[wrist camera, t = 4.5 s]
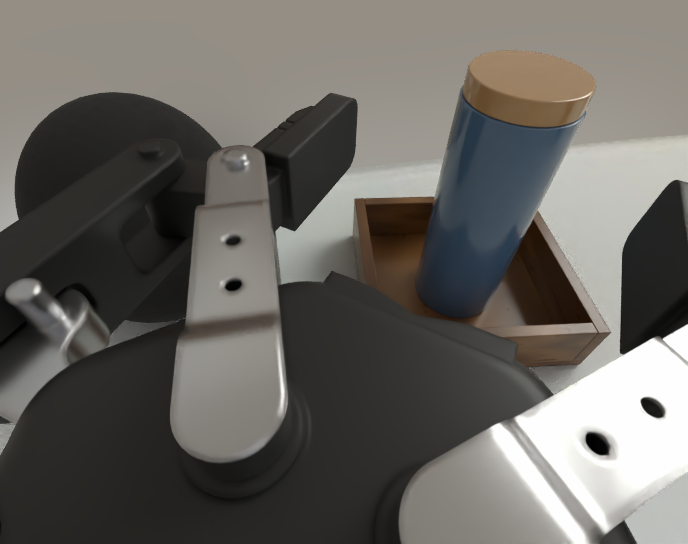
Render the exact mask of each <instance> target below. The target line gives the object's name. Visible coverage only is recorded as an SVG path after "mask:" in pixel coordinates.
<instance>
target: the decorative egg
mask: <svg viewBox="0 0 688 544" xmlns="http://www.w3.org/2000/svg"><path fill="white" fill-rule="evenodd" d="M149 138H167V139H171V140H173V141H175V142H176V143H178V145H179V146H180V150H181V153H182V156H183V159H191V160H203V161H208V159H209V157H210V156H211V155H212V154H213V153H214V152H216V151H218V150H220V149H222V147H221V146H220V145H219V144H218V143H217V141H216V140H215V139H214V138H213V137H212V136H211V135H210V134H209V133H208V132H207V131H206V130H205V129H204V128H203V127H202V126H200V125H199V124H198V123H197V122H196V121H194V120H193V119H191V118H190V117H189V116H187V115H186V114H184V113H183V112H181V111H179V110H177V109H176V108H174V107H172V106H170V105H167V104H165V103H163V102H161V101H158V100H155V99H152V98H148V97H145V96H140V95H136V94H130V93H117V92H110V93H98V94H93V95H88V96H84V97H80V98H78V99H76V100H73V101H71V102H68V103H66V104H64V105H62V106H61V107H59V108H58V109H56V110H54V111H53V112H51V113H50V114H49V115H48V116H47V117H46V118H45V119H44V120H43V121H42V122H41V123H40V124H39V125H38V126H37V127H36V128H35V130H34V131H33V132H32V133H31V135H30V137H29V139H28V140H27V142H26V144H25V146H24V148H23V150H22V152H21V155H20V159H19V162H18V166H17V170H16V176H15V202H16V208H17V215H18V218H19V219H21V218H22V217H24V216H25V215H27V214H28V213H30V212H31V211H33V210H34V209H36V208H37V207H39V206H40V205H42V204H43V203H45V202H46V201H48V200H49V199H51V198H52V197H54V196H55V195H57V194H58V193H60V192H61V191H63V190H64V189H65V188H67V187H68V186H70V185H71V184H73V183H74V182H76V181H77V180H79V179H80V178H82V177H83V176H85V175H86V174H88V173H89V172H91V171H92V170H94V169H95V168H97V167H98V166H100V165H101V164H103V163H104V162H106V161H107V160H109V159H110V158H112V157H113V156H115V155H116V154H118V153H119V152H121V151H122V150H124V149H125V148H127V147H128V146H130V145H131V144H133V143H135V142H138V141H141V140H144V139H149ZM150 221H151V220H150V217H149V215H148V213H147V211H146V209H145V206H144V207H142V208H141V209H140V210H139V211H138V212H136V213H135V214H134V215H133V216H132V217H130V218H129V219H128V220H127V221H126V222H125V223H124V225H123V227H122V229H121V240H122V242H123V244H125V243H126V242H127V241H128V240H129V239H130V238H132V237H133V236H134V235H135V234H136V233H137V232H138V231H140V230H141V229H142V228H143V227H144V226H145V225H147V224H148V223H149V222H150ZM191 255H192V251H191V252H190V253H189V254H188V255H187V256H186V257H185V258H184V259H183V260H182V261H181V262H180V263H179V264H178V265H177V266H176V267H175V268H174V269H173V270H172V271H171V272H170V273H169V274H168V275H167V276H166V278H165V279H164V280H163V281H162V282H161V283H160V284H159V285H158V286H157V287H156V288H155V289H154V290H153V291H152V292H151V293H150V294H149V295H148V296H147V297H146V298H145V299H144V300H143V301H142V302H141V303H140V305H139V306H138V307H137V308H136V309H135V310H134V311H133V312H132V313H131V314H130V315H129V316H128V317H127V318H126V319H125V320H128V321H134V322H146V323H156V322H167V321H172V320H177V319H181V318H184V317H186V313H187V301H188V290H189V278H190V267H191Z"/></svg>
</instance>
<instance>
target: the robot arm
mask: <svg viewBox="0 0 688 544" xmlns="http://www.w3.org/2000/svg"><path fill="white" fill-rule="evenodd" d="M357 108H358V107H357V101H356V99H354V98H350V97H346V96H342V95H338V94H333V93H330V94H328V95H327V96H326V97H325V98H323V99H322V100H321V101H320V102H319V103H317V104H316V105H315V106H310V107H307V108H304V109H301V110H299V111H296V112H295V113H294V114H293V115H291V116H290V117H289V118H287V119H286V122H283V123H281V124H280V125H279V126H278V128H275V129H274V130H273V131H272V132H270V133H269V134H268V135H267V136H266V137H264V138H263V139H262V140H260V141H259V142H258V143H257V144H255V145H254V146H253V147H250V146H244V145H236V146H229V147H225V148H222V149H220V150H218V151H216V152H214V153H213V154H212V155H211V156H210V157H209V159H208V161H203V160H191V159H183V156H182V153H181V150H180V146H179V145H178V143H176V142H175V141H173V140H171V139H167V138H149V139H144V140H141V141H138V142H135V143H133V144H131V145H130V146H128V147H127V148H125V149H124V150H122V151H121V152H119V153H118V154H116V155H115V156H113V157H112V158H110V159H109V160H107V161H106V162H104V163H103V164H101V165H100V166H98V167H97V168H95V169H94V170H92V171H91V172H89V173H88V174H86V175H85V176H83V177H82V178H80V179H79V180H77V181H76V182H74V183H73V184H71V185H70V186H68V187H67V188H65V189H64V190H63V191H61V192H60V193H58V194H57V195H55V196H54V197H52V198H51V199H49V200H48V201H46V202H45V203H43V204H42V205H40V206H39V207H37V208H36V209H34V210H33V211H31V212H30V213H28V214H27V215H25V216H24V217H22V218H21V219H19V220H18V221H16V222H15V223H13V224H12V225H10V226H9V227H7V228H6V229H4V230H3V231H2V232H0V424H6V423H14V424H16V426H15V428H14V430H13V432H12V434H11V436H10V438H9V440H8V442H7V444H6V446H5V448H4V450H3V452H2V453H1V455H0V544H637V543H636V541H635V539H634V537H633V535H632V533H631V532H630V530H629V528H628V526H627V524H626V522H625V521H624V519H626V518H627V517H628V516H630V515H631V514H632V513H633V512H635V511H636V510H637V509H639V508H640V507H641V506H643V505H644V504H645V503H646V502H648V501H649V500H650V499H652V498H653V497H654V496H656V495H657V494H658V493H659V492H661V491H662V490H663V489H665V488H666V487H667V486H669V485H670V484H671V483H672V482H674V481H675V480H676V479H678V478H679V477H680V476H682V475H683V474H684V473H685V472H687V471H688V183H687V182H683V181H679V180H674V181H672V182H671V183H670V184H669V185H668V186H667V187H666V188H665V189H664V190H663V191H662V193H661V194H660V195H659V197H658V198H657V199H656V200H655V202H654V203H653V204H652V206H651V207H650V208H649V209H648V211H647V212H646V213H645V214H644V216H643V217H642V218H641V220H640V221H639V222H638V223H637V225H636V226H635V227H634V229H633V230H632V231H631V233H630V234H629V236H628V238H627V240H626V242H625V245H624V248H623V252H622V287H621V330H620V353H621V354H623V356H621V357H619V358H618V359H616V360H614V361H612V362H611V363H609V364H607V365H605V366H604V367H602V368H600V369H599V370H597V371H595V372H593V373H592V374H590V375H588V376H586V377H585V378H583V379H581V380H579V381H578V382H576V383H574V384H572V385H571V386H569V387H567V388H565V389H564V390H562V391H560V392H558V393H557V394H555V395H553V393H552V392H551V391H550V390H549V389H548V387H547V386H546V385H545V384H544V383H543V382H542V381H541V380H540V379H539V378H538V377H537V376H536V375H535V374H534V373H533V372H531V371H530V370H529V369H528V368H526V367H525V366H524V365H523V364H521V363H520V362H518V361H517V360H515V358H516V353H517V349H518V343H515V342H513V341H510V340H508V339H505V338H502V337H500V336H497V335H495V334H492V333H490V332H487V331H485V330H482V329H479V328H477V327H474V326H472V325H469V324H465V323H460V322H454V321H448V320H443V319H437V318H431V317H425V316H420V315H416V314H413V313H411V312H410V311H408V310H407V309H405V308H404V307H402V306H401V305H399V304H398V303H396V302H395V301H393V300H392V299H390V298H389V297H387V296H386V295H384V294H383V293H381V292H380V291H378V290H377V289H375V288H374V287H372V286H369V285H367V284H364V283H362V282H359V281H357V280H354V279H352V278H349V277H346V276H344V275H341V274H339V273H336V272H334V271H331V273H330V274H329V275H328V277H327V278H326V280H325V281H324V283H322V282H310V281H305V282H293V283H286V284H282V285H281V276H280V267H279V259H278V250H277V241H276V234H275V231H276V230H277V229H278V228H279V227H280V226H282V227H284V228H287V229H290V230H292V231H296V230H297V228H298V227H299V226H300V225H301V224H302V223H303V221H304V220H305V219H306V218H307V217H308V216H309V214H310V213H311V212H312V211H313V210H314V209H315V207H316V206H317V205H318V204H319V203H320V202H321V200H322V199H323V198H324V197H325V196H326V195H327V193H328V192H329V191H330V190H331V189H332V188H333V186H334V185H335V184H336V183H337V182H338V181H339V179H340V178H341V177H342V176H343V175H344V174H345V172H346V171H347V170H348V169H349V167H350V166H351V163H352V161H353V158H354V154H355V147H356V128H357ZM144 206H145V209H146V211H147V213H148V215H149V217H150V220H151V221H150V222H149V223H148V224H147V225H145V226H144V227H143V228H142V229H141V230H140V231H138V232H137V233H136V234H135V235H134V236H133V237H132V238H130V239H129V240H128V241H127V242H126V243H125V244H123V242H122V240H121V229H122V227H123V225H124V223H125V222H126V221H127V220H128V219H129V218H130V217H132V216H133V215H134V214H135V213H136V212H138V211H139V210H140V209H141V208H142V207H144ZM191 251H192V255H191V267H190V278H189V290H188V301H187V313H186V319H185V320H182V321H179V322H177V323H174V324H171V325H168V326H166V327H163V328H160V329H158V330H155V331H152V332H149V333H147V334H144V335H141V336H138V337H136V338H133V339H130V340H128V341H125V342H122V343H119V344H117V345H114V346H111V347H109V348H106V347H107V345H108V342H109V339H110V335H111V334H112V333H113V332H114V330H115V329H116V328H117V327H118V326H119V325H120V324H121V323H122V322H123V321H124V320H125V319H126V318H127V317H128V316H129V315H130V314H131V313H132V312H133V311H134V310H135V309H136V308H137V307H138V306H139V305H140V303H141V302H142V301H143V300H144V299H145V298H146V297H147V296H148V295H149V294H150V293H151V292H152V291H153V290H154V289H155V288H156V287H157V286H158V285H159V284H160V283H161V282H162V281H163V280H164V279H165V278H166V276H167V275H168V274H169V273H170V272H171V271H172V270H173V269H174V268H175V267H176V266H177V265H178V264H179V263H180V262H181V261H182V260H183V259H184V258H185V257H186V256H187V255H188V254H189V253H190V252H191Z"/></svg>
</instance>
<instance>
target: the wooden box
mask: <svg viewBox="0 0 688 544" xmlns="http://www.w3.org/2000/svg"><path fill="white" fill-rule="evenodd" d="M433 201H434V197H403V198H365V199H364V198H360V199H355V200H354V220H353V241H354V250H355V259H356V268H357V276H358V281H359V282H362V283H364V284H367V285H369V286H372V287H374V288H375V289H377V290H378V291H380V292H381V293H383V294H384V295H386V296H387V297H389V298H390V299H392V300H393V301H395V302H396V303H398V304H399V305H401V306H402V307H404V308H405V309H407V310H408V311H410V312H411V313H413V314H416V315H420V316H425V317H431V318H437V319H443V320H448V321H454V322H460V323H465V324H469V325H472V326H474V327H477V328H479V329H482V330H485V331H487V332H490V333H492V334H495V335H497V336H500V337H502V338H505V339H508V340H510V341H513V342H515V343H518V349H517V353H516V358H515V360H517V361H518V362H520V363H521V364H523V365H524V366H525V367H539V366H558V365H578V364H580V363H581V362H582V361H583V360H584V359H585V358H586V357H587V356H588V355H589V354H590V353H591V352H592V351H593V350H594V349H595V348H596V347H597V346H598V345H599V344H600V343H601V342H602V341H603V340H604V339H605V338H606V337H607V336H608V335H609V334H610V333H611V332H610V330H609V328H608V327H607V325H606V323H605V322H604V320H603V318H602V317H601V315H600V313H599V312H598V310H597V308H596V307H595V305H594V303H593V302H592V300H591V298H590V297H589V295H588V293H587V292H586V290H585V288H584V287H583V285H582V283H581V282H580V280H579V278H578V277H577V275H576V273H575V272H574V270H573V268H572V267H571V265H570V263H569V262H568V260H567V258H566V257H565V255H564V253H563V252H562V250H561V248H560V247H559V245H558V243H557V242H556V240H555V238H554V237H553V235H552V233H551V232H550V230H549V228H548V227H547V225H546V223H545V222H544V220H543V218H542V217H541V215H540V213H539V212H538V210H537V212H536V214H535V216H534V218H533V220H532V222H531V224H530V226H529V228H528V230H527V232H526V234H525V236H524V238H523V240H522V242H521V244H520V246H519V248H518V250H517V252H516V254H515V256H514V258H513V260H512V262H511V264H510V266H509V268H508V270H507V272H506V274H505V276H504V278H503V280H502V282H501V284H500V286H499V288H498V290H497V292H496V294H495V296H494V298H493V299H492V301H491V303H490V305H489V307H488V308H487V309H486V310H485V311H483V312H482V313H480V314H479V315H476V316H473V317H469V318H453V317H448V316H445V315H442V314H440V313H437V312H436V311H434V310H432V309H431V308H429V307H428V306H427V305H426V304H425V303H424V302H423V301H422V300H421V299H420V297H419V296H418V294H417V292H416V288H415V276H416V272H417V267H418V263H419V259H420V255H421V251H422V247H423V243H424V239H425V234H426V230H427V226H428V222H429V218H430V214H431V210H432V205H433Z"/></svg>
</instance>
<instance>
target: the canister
mask: <svg viewBox="0 0 688 544" xmlns="http://www.w3.org/2000/svg"><path fill="white" fill-rule="evenodd" d="M595 90H596V81H595V79H594V78H593V76H592V75H591V74H590V73H588V72H587V71H586V70H584V69H583V68H581V67H579V66H578V65H576V64H573V63H571V62H569V61H566V60H564V59H561V58H558V57H555V56H550V55H547V54H542V53H536V52H529V51H517V50H505V51H495V52H489V53H485V54H482V55H479V56H477V57H475V58H474V59H473V60H472V61H471V62H470V64H469V66H468V70H467V73H466V78H465V82H464V85H463V86H462V88H461V90H460V94H459V98H458V102H457V106H456V110H455V115H454V119H453V123H452V127H451V131H450V135H449V139H448V144H447V148H446V152H445V156H444V160H443V164H442V168H441V172H440V176H439V181H438V185H437V189H436V193H435V197H434V201H433V205H432V210H431V214H430V218H429V222H428V226H427V230H426V234H425V239H424V243H423V247H422V251H421V255H420V259H419V263H418V267H417V272H416V276H415V288H416V292H417V294H418V296H419V297H420V299H421V300H422V301H423V302H424V303H425V304H426V305H427V306H428V307H429V308H431V309H432V310H434V311H436V312H437V313H440V314H442V315H445V316H448V317H453V318H469V317H473V316H476V315H479V314H480V313H482V312H483V311H485V310H486V309H487V308H488V307H489V305H490V303H491V301H492V299H493V298H494V296H495V294H496V292H497V290H498V288H499V286H500V284H501V282H502V280H503V278H504V276H505V274H506V272H507V270H508V268H509V266H510V264H511V262H512V260H513V258H514V256H515V254H516V252H517V250H518V248H519V246H520V244H521V242H522V240H523V238H524V236H525V234H526V232H527V230H528V228H529V226H530V224H531V222H532V220H533V218H534V216H535V214H536V212H537V210H538V208H539V206H540V205H541V203H542V201H543V199H544V197H545V195H546V193H547V191H548V189H549V187H550V185H551V183H552V181H553V179H554V177H555V175H556V173H557V171H558V169H559V167H560V165H561V163H562V161H563V159H564V157H565V155H566V153H567V151H568V149H569V147H570V145H571V143H572V141H573V139H574V137H575V135H576V133H577V131H578V129H579V127H580V125H581V123H582V121H583V119H584V117H585V115H586V108H587V106H588V104H589V102H590V100H591V98H592V96H593V94H594V92H595Z"/></svg>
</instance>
